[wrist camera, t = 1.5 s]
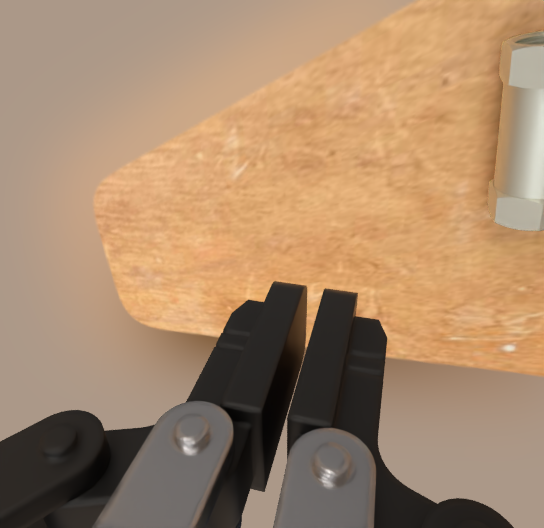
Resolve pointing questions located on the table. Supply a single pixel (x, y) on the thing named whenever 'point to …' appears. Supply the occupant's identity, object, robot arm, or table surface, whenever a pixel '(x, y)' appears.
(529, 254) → the table surface
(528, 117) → the pipe fitting
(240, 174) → the table surface
